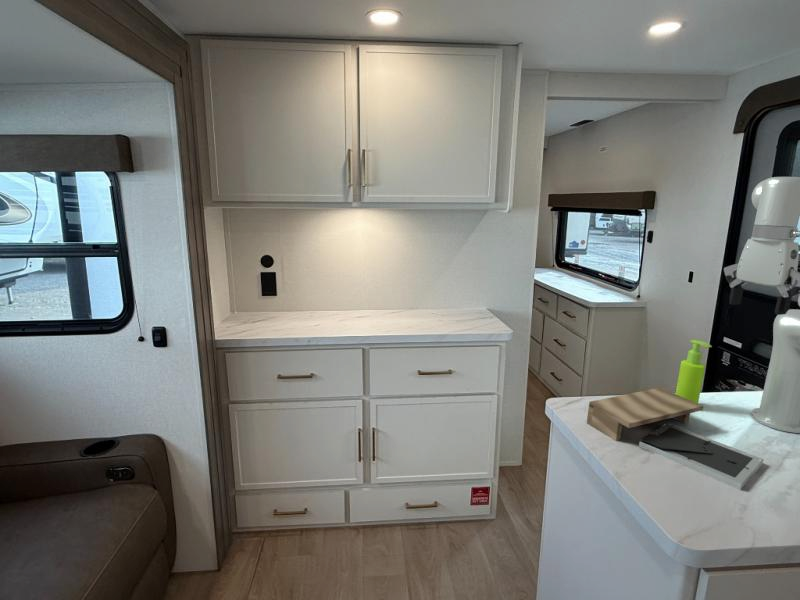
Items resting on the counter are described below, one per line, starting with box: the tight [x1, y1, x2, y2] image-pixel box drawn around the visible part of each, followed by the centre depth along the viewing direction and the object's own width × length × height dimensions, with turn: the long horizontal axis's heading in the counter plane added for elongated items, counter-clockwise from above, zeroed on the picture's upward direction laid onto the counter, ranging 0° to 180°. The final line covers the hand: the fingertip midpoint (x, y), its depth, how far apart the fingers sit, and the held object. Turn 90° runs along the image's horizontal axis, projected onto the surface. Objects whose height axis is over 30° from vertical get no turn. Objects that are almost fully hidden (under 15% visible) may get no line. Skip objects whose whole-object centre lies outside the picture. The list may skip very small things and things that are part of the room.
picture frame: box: [638, 422, 764, 491], centre depth 107 cm, size 16×3×21 cm
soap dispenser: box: [675, 339, 713, 404], centre depth 131 cm, size 6×7×20 cm
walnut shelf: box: [586, 387, 704, 442], centre depth 121 cm, size 27×12×6 cm, turn 113°
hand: (756, 309), depth 105 cm, fingers open, 9 cm apart
